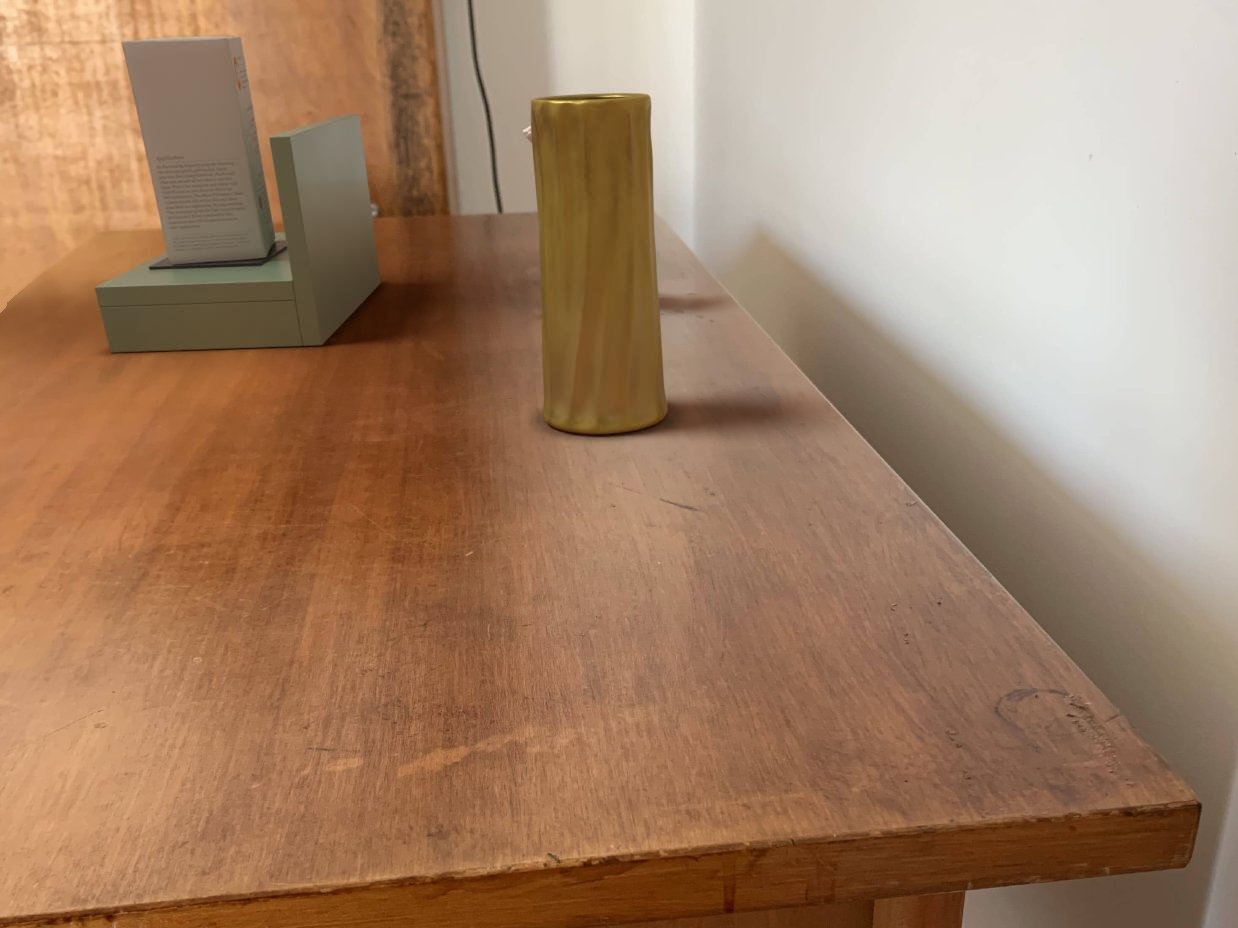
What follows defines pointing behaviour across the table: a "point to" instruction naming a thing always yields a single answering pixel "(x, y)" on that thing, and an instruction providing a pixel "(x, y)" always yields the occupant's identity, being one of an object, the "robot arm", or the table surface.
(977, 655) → the table surface
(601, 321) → the vase
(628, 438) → the table surface
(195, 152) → the small box
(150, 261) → the green l-shaped stand
